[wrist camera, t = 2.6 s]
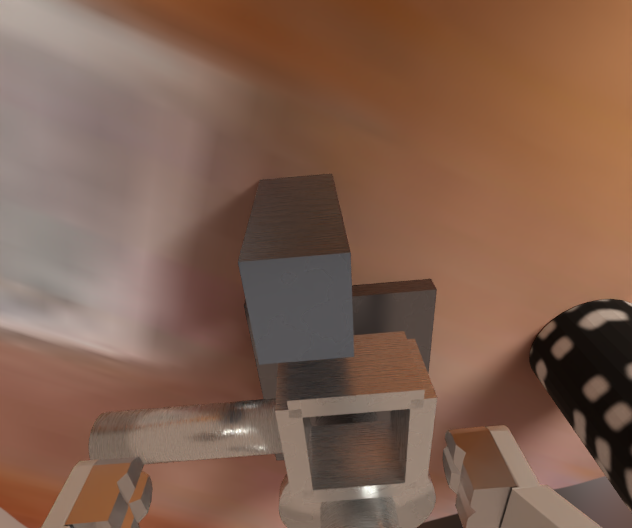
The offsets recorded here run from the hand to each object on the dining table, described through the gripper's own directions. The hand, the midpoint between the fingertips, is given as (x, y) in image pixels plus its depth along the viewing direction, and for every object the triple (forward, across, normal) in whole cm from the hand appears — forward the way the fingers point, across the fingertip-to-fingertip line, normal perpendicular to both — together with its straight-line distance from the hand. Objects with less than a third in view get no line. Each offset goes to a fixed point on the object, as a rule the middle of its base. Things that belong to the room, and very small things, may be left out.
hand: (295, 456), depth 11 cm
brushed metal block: (+15, 0, -1) cm, 15 cm away
